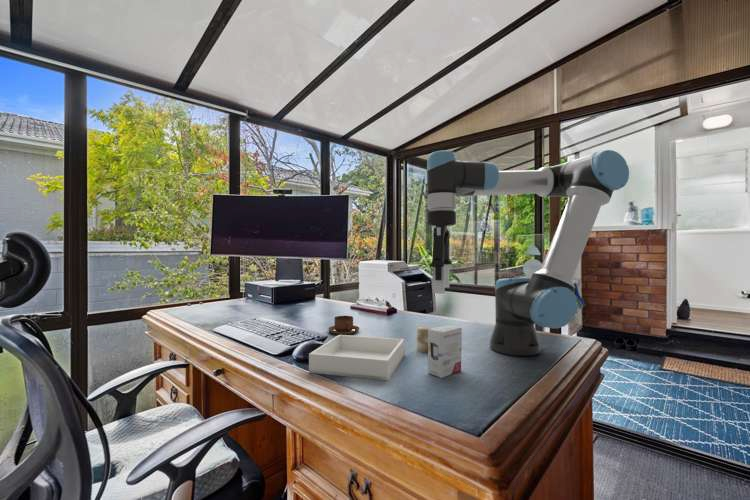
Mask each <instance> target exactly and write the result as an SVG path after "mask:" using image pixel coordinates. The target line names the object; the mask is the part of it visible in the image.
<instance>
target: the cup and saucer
mask: <svg viewBox="0 0 750 500" xmlns="http://www.w3.org/2000/svg"><path fill="white" fill-rule="evenodd" d="M334 329H335V330H336V331H333V330H334ZM352 329H355V331H352ZM359 330H360V327H359V326H357V325H354V316H351V315H337V316H334V325H333V326H330V327H328V331H329V332H330V333H331V334H334V335H338V334H339V335H347V334H348V335H353V334H356V333H357V332H359Z"/></svg>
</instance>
